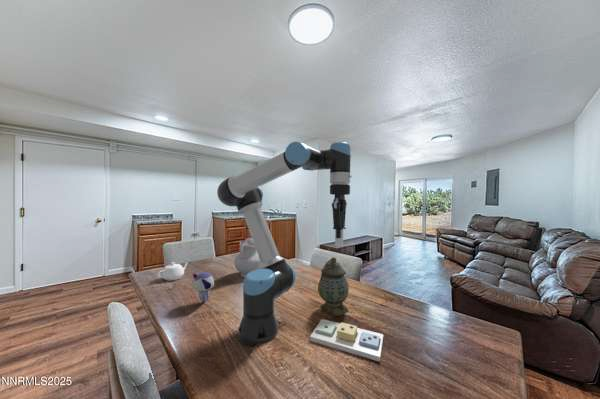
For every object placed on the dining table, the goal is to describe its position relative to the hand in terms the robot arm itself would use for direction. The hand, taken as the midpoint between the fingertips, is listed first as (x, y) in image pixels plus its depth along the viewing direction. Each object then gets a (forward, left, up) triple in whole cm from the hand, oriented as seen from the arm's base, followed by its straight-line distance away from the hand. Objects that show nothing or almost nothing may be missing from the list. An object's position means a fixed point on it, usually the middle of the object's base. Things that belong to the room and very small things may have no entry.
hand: (339, 246), depth 85 cm
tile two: (+4, -2, -32) cm, 32 cm away
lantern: (-7, +18, -35) cm, 40 cm away
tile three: (+12, -2, -33) cm, 36 cm away
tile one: (-4, -2, -33) cm, 34 cm away
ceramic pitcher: (-72, +39, -35) cm, 89 cm away
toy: (-67, -3, -35) cm, 75 cm away
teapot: (-111, +13, -35) cm, 117 cm away
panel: (+4, -2, -34) cm, 35 cm away
